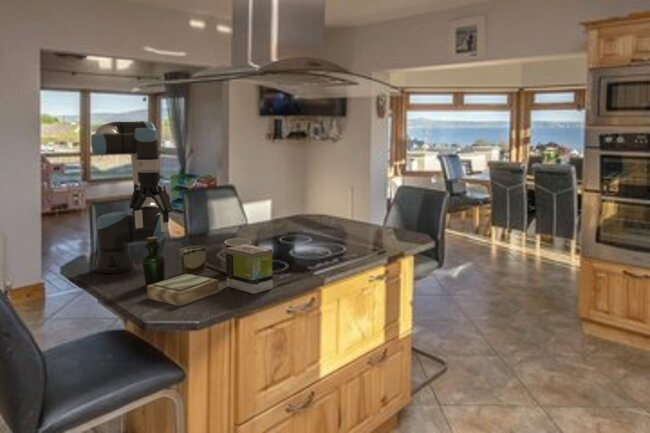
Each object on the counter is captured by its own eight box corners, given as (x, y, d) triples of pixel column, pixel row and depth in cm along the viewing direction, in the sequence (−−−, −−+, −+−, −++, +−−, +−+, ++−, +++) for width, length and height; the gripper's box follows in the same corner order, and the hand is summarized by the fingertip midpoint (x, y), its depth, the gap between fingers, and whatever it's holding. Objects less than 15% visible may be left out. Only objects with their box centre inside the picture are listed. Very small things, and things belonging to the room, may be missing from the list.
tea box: (274, 288, 199) (273, 248, 197) (252, 294, 192) (251, 253, 190) (247, 280, 209) (245, 242, 207) (226, 286, 202) (224, 247, 200)
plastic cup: (232, 274, 218) (231, 244, 216) (220, 268, 227) (219, 240, 225) (256, 270, 224) (256, 241, 222) (244, 264, 233) (243, 237, 231)
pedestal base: (147, 298, 189) (146, 284, 188) (186, 285, 204) (185, 272, 203) (180, 306, 180) (179, 291, 180) (218, 291, 196) (218, 278, 195)
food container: (198, 267, 229) (197, 244, 227) (207, 270, 225) (206, 246, 223) (173, 274, 219) (172, 249, 217) (182, 276, 215) (181, 251, 214)
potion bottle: (153, 281, 209) (150, 234, 206) (171, 283, 206) (168, 236, 203) (139, 287, 202) (135, 239, 199) (157, 289, 199) (154, 240, 196)
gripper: (116, 170, 200) (121, 228, 204) (164, 173, 187) (167, 234, 191) (133, 169, 207) (137, 225, 210) (180, 171, 194) (184, 230, 197)
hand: (151, 229), depth 200 cm, fingers open, 13 cm apart
